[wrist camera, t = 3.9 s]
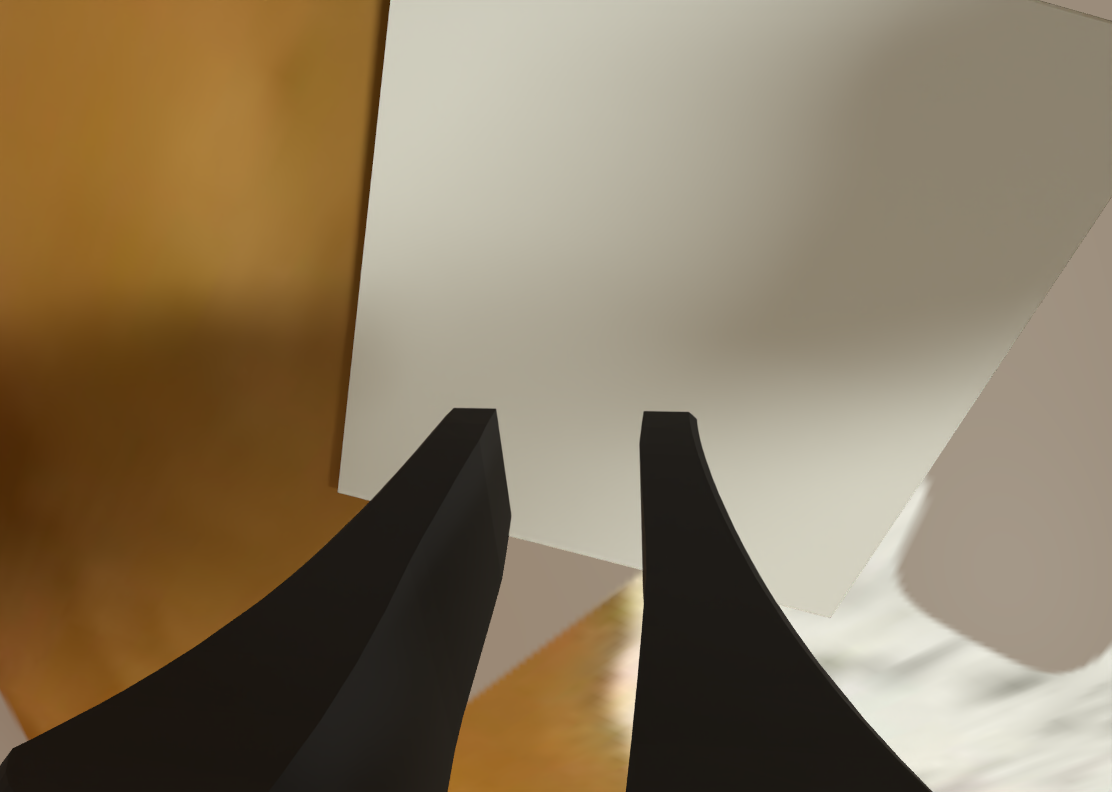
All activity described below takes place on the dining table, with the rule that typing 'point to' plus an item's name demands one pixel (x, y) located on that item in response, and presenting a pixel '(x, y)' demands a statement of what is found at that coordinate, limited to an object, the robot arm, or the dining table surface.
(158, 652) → the dining table surface
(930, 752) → the dining table surface
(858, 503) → the mat
